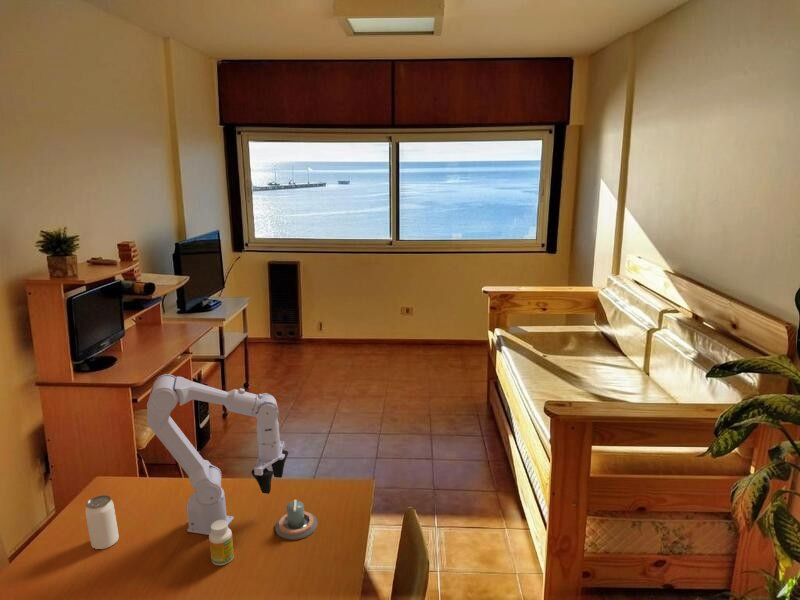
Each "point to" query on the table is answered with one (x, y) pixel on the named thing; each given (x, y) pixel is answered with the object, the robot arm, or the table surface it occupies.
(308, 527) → the socket
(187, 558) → the table surface
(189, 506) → the robot arm
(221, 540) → the supplement bottle
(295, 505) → the cylinder with tan strip
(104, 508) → the can
